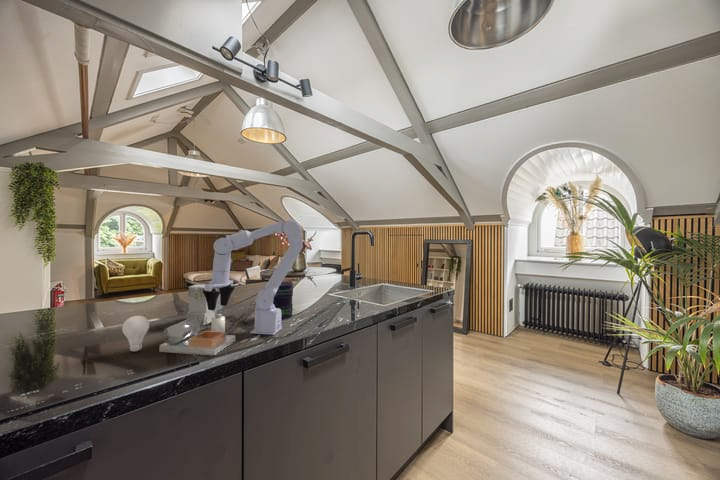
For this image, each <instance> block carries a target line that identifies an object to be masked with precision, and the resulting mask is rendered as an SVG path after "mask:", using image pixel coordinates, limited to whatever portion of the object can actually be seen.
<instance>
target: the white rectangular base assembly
mask: <svg viewBox="0 0 720 480" xmlns="http://www.w3.org/2000/svg"><path fill="white" fill-rule="evenodd" d="M189 318H190V317H189ZM200 330H201V325H200V322H199V321H198V320H197V319H195V318H190V319H185V320H182V321H179V322H178V323H175V324H173V325H170V326H168V327H166V328H165V329H164V330H163V332H162V339H163V341H164V343H161V344H160V345H159V346H158V347H159V350H158V351H159V353H170V354H171V353H173V354H187V355H199V354H200V356H201V355H203V356H213V355H215V356H216V355H218V354H219V353H221V352H222V351H223V349H224V348H225V349H227V348H228V347H229V346H231V345H232V344H234V343H235V342H236V339H237V337H236V335H232V334H231V335H229V334H227V331H225V332H216V331H212V330H204V331H202V332H200ZM233 342H234V343H233ZM227 346H228V347H227ZM226 347H227V348H226ZM225 349H224V350H225ZM221 350H222V351H221ZM220 351H221V352H220ZM218 352H219V353H218ZM217 353H218V354H217Z"/></svg>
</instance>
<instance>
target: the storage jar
mask: <svg viewBox="0 0 720 480" xmlns="http://www.w3.org/2000/svg"><path fill="white" fill-rule="evenodd" d="M293 285H294V283H293V282H291V281H290V282H289V281H282V283H281V285H280V286H279V288H278V290H277V292H276V294H275V296H274V298H273V304H274V305H275V308H279V309H281V314H282V315H281V321H283V320H287V319H288V320H289V319H292V317H293V310H294V309H293V308H294V307H293V306H294V305H293V296H294V293H293V292H294V286H293Z"/></svg>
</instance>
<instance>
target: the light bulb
mask: <svg viewBox="0 0 720 480" xmlns="http://www.w3.org/2000/svg"><path fill="white" fill-rule="evenodd" d="M149 328H150V321H149V319H148V318H146V317H145V316H143V315H134V316H130V317H129V318H127V319H126V320H125V321H124V323H123V324H122V328H121V331H122V333H123V335H124V336H125V338H127V340H128V345H129V351H130V352H133V353H134V352H135V353H136V352H139V351H140V350H141V349H142V348H143V344H142V343H143V341H144V338H145V336H146V334H147V332H148V331H149Z"/></svg>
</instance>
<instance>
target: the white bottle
mask: <svg viewBox="0 0 720 480" xmlns="http://www.w3.org/2000/svg"><path fill="white" fill-rule="evenodd" d="M225 329H226V316H223V315H222V313H216V315H215V317H213V318H212V322H211V331H216V332H226V330H225Z"/></svg>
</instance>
